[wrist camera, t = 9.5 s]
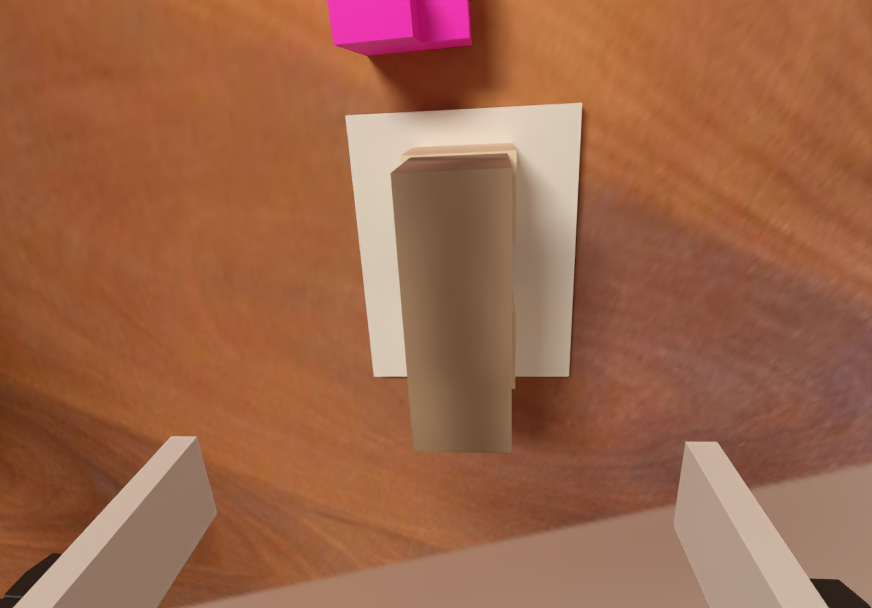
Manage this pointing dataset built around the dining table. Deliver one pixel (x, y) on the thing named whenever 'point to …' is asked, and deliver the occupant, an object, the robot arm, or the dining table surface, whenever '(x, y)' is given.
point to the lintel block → (456, 299)
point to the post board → (532, 221)
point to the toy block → (399, 25)
